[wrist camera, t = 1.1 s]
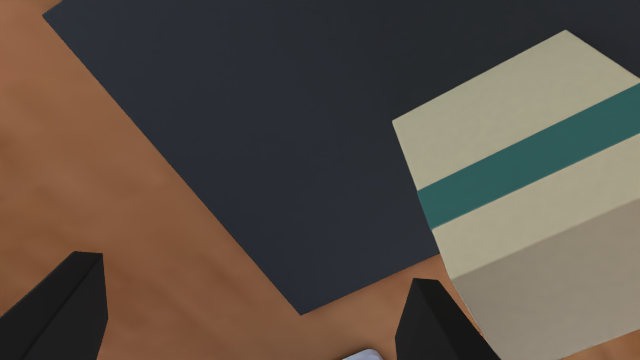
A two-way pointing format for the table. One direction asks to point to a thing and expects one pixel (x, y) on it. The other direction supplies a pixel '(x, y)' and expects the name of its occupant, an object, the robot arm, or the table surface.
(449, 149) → the tea box
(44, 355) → the robot arm
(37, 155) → the table surface
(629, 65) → the mat
